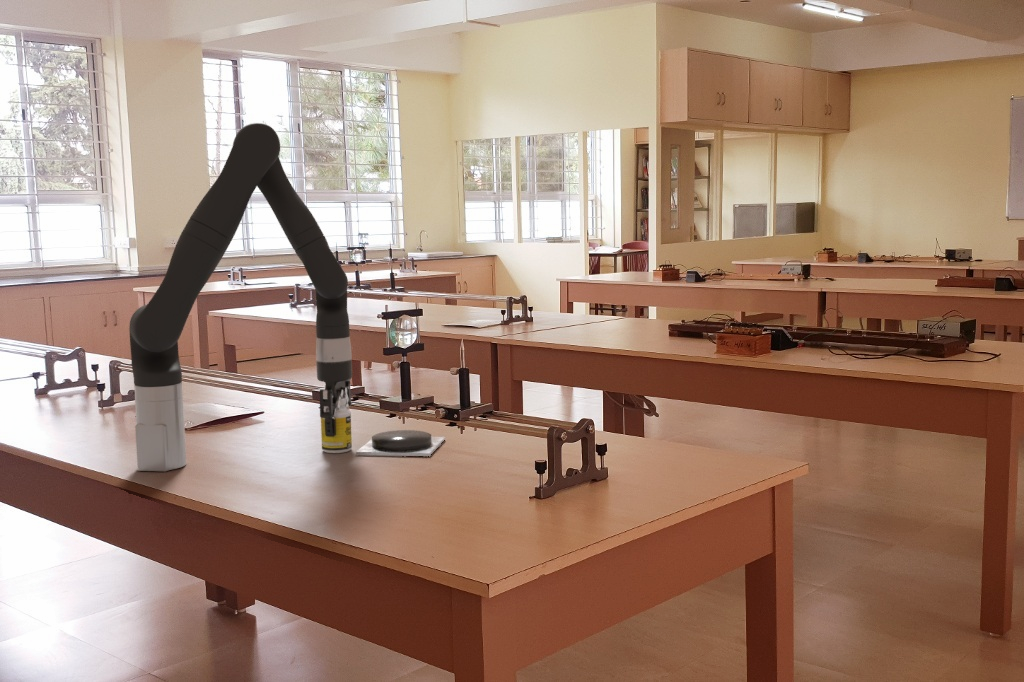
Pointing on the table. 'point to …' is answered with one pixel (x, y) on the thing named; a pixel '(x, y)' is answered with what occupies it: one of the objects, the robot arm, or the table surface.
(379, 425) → the table surface
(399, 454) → the stand
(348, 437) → the pill bottle
